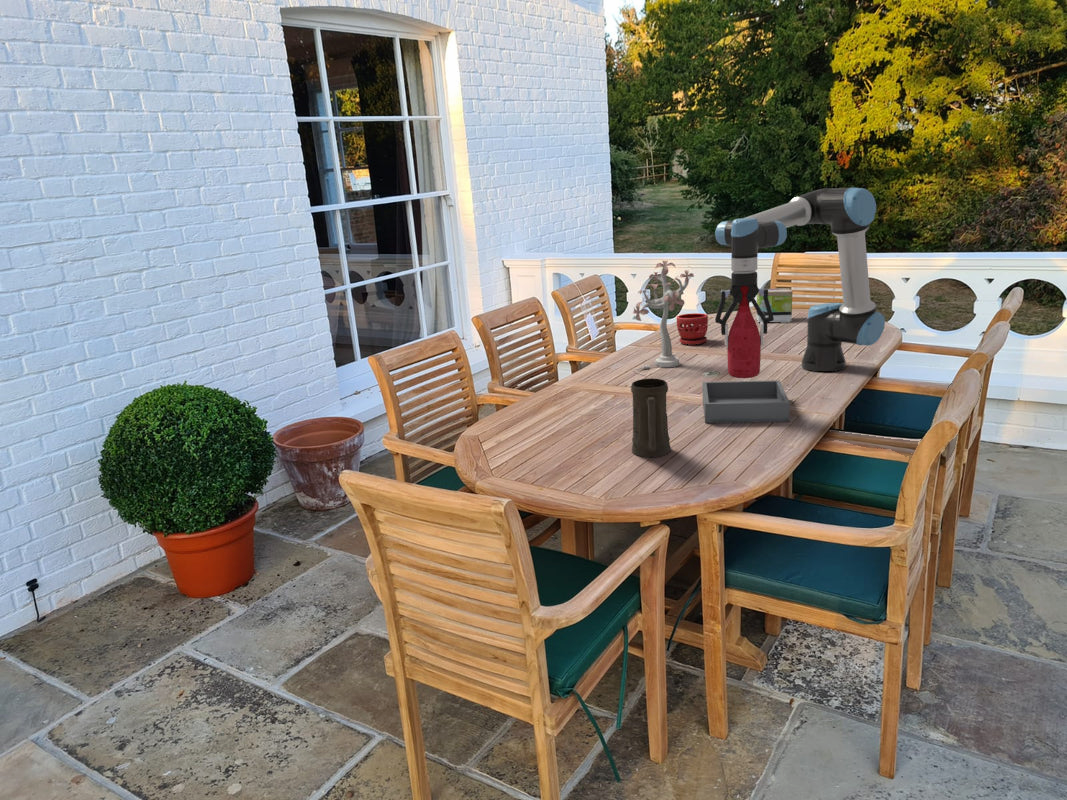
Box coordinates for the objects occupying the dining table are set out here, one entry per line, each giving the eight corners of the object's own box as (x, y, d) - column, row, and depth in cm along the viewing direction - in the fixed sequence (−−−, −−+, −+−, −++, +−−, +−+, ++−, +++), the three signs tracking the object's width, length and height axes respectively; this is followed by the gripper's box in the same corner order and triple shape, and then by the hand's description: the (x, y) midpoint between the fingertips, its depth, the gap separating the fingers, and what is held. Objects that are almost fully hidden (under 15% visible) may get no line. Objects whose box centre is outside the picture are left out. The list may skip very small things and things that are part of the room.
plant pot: (712, 340, 345) (712, 312, 342) (701, 347, 335) (701, 318, 332) (684, 338, 352) (683, 311, 349) (672, 345, 342) (671, 317, 339)
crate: (779, 398, 260) (779, 380, 258) (789, 421, 237) (789, 402, 235) (702, 399, 264) (702, 381, 263) (705, 422, 242) (704, 403, 240)
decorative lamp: (648, 377, 295) (644, 268, 283) (616, 365, 315) (612, 263, 304) (710, 365, 305) (709, 260, 294) (675, 354, 326) (673, 255, 314)
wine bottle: (761, 371, 250) (762, 275, 242) (759, 379, 242) (760, 280, 233) (729, 370, 254) (729, 276, 245) (725, 379, 245) (725, 281, 236)
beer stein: (627, 445, 228) (625, 378, 221) (664, 441, 228) (664, 375, 221) (639, 467, 213) (637, 397, 206) (678, 463, 214) (678, 393, 207)
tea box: (758, 323, 371) (758, 292, 367) (756, 319, 381) (756, 288, 376) (792, 322, 368) (792, 290, 364) (789, 318, 378) (789, 287, 374)
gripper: (706, 275, 237) (707, 348, 243) (785, 271, 233) (783, 346, 239) (705, 271, 244) (706, 343, 250) (781, 268, 240) (780, 340, 246)
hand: (743, 344), depth 245 cm, fingers closed on wine bottle, 10 cm apart
